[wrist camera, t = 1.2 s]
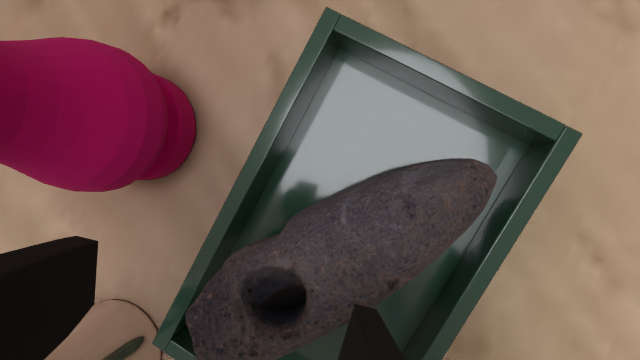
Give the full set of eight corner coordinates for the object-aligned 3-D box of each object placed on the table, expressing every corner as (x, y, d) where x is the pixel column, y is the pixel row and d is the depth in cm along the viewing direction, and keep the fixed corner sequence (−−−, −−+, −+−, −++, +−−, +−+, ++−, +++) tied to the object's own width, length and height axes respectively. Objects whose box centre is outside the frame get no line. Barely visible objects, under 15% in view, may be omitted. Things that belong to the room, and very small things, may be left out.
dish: (549, 139, 19) (584, 133, 15) (365, 438, 21) (363, 487, 17) (334, 31, 20) (326, 5, 17) (183, 318, 22) (151, 343, 19)
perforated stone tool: (450, 127, 19) (491, 103, 12) (502, 215, 19) (574, 244, 12) (215, 258, 21) (137, 302, 14) (258, 338, 21) (200, 422, 14)
